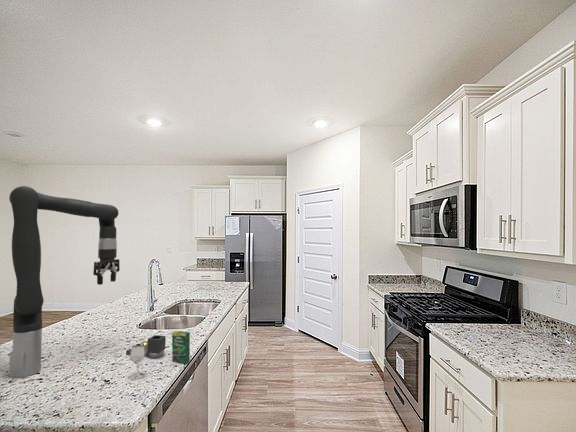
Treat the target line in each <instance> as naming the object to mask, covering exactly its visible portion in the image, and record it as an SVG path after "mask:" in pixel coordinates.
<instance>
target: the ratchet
mask: <svg viewBox="0 0 576 432" xmlns="http://www.w3.org/2000/svg"><path fill="white" fill-rule="evenodd" d="M130 352H131V348H129V349H127V350H125V356H130ZM164 355H165V349H164V350H163V351H162V352H160V353H147V350H146V356H145V358H146V357H148V358H149V359H151V360H157V359H162V358H163V357H164Z"/></svg>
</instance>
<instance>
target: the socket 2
mask: <svg viewBox="0 0 576 432" xmlns="http://www.w3.org/2000/svg"><path fill="white" fill-rule="evenodd" d="M166 337H167V336H166V335H159V334H158V335H155V334H154V335H152V336H150V337H148V338H147V341H148V343H147V353H160V352H162V351H163V350H164V351H165V350H166Z"/></svg>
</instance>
